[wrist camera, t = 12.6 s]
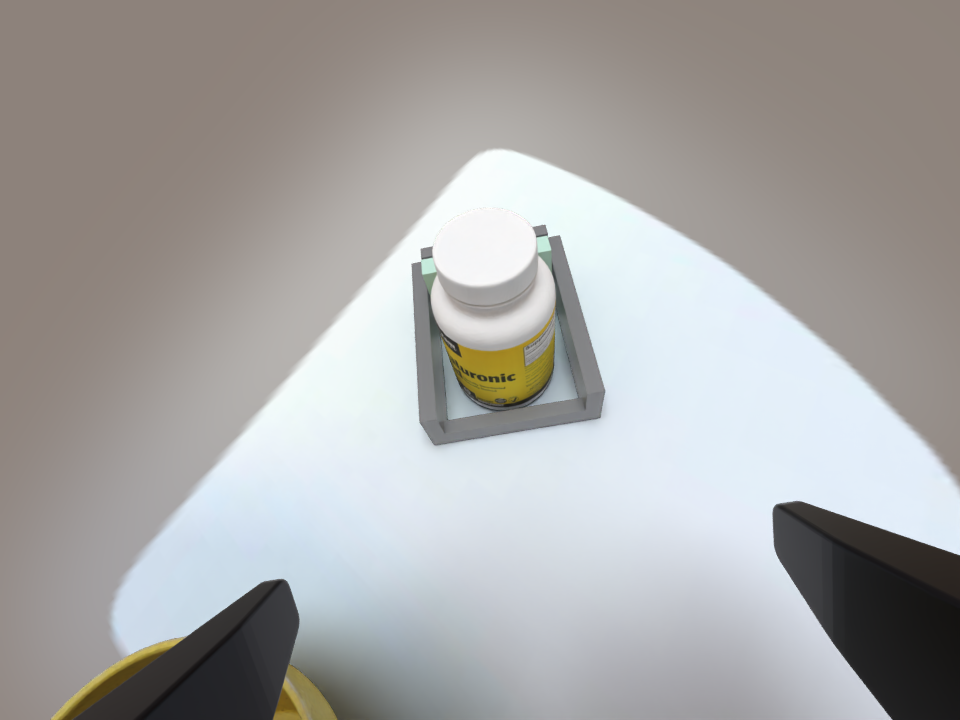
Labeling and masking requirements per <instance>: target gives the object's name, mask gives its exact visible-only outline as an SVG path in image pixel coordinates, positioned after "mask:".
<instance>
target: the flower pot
mask: <svg viewBox="0 0 960 720" xmlns="http://www.w3.org/2000/svg"><path fill="white" fill-rule="evenodd" d="M186 637H187V636H186ZM186 637H181V638H174V639H170V640H167V641H163V642H160V643H157V644H154V645H151V646H149V647H146V648H143V649H141V650H139V651H137V652H135V653H133V654H131V655H129V656H127V657H125V658H123V659H122V660H120V661H118V662H117V663H115V664H114V665H112V666H110V667H109V668H107V669H106V670H105V671H103V672H102V673H100V674H99V675H98V676H96V677H95V678H94V679H92V680H91V681H90V682H89V683H88V684H87V685H85V686H84V687H83V688H82V689H81V690H80V691H79V692H77V693H76V694H75V695H74V696H73V697H72V698H71V699H69V700H68V701H67V702H66V703H65V704H64V705H63V707H62V708H61V709H60V710H59V711H58V712H57V713H56V714H55V715H54V716H53V717H52V718H51V720H72V719H74V718H75V717H76V716H78V715H79V714H80V713H82V712H83V711H85V710H86V709H87V708H89V707H90V706H92V705H93V704H94V703H96V702H97V701H98V700H100V699H101V698H103V697H104V696H105V695H107V694H108V693H110V692H111V691H112V690H114V689H115V688H116V687H118V686H119V685H121V684H122V683H123V682H125V681H126V680H127V679H129V678H130V677H132V676H133V675H134V674H136V673H137V672H139V671H140V670H141V669H143V668H144V667H145V666H147V665H148V664H150V663H151V662H152V661H154V660H155V659H157V658H158V657H159V656H161V655H162V654H163V653H165V652H166V651H168V650H169V649H170V648H172V647H173V646H174V645H176V644H177V643H179V642H180V641H181V640H183V639H184V638H186ZM273 720H337V717H336V715H335V714H334V712H333V710H332V708H331V706H330V705H329V703H328V702H327V701H326V699H325V698H324V696H323V695H322V694H321V692H320V691H319V690H318V689H317V688H316V686H315V685H314V684H313V683H312V682H311V681H310V680H309V679H308V678H307V677H306V676H305V675H303V674H302V673H301V672H300V671H298V670H297V669H296V668H294V667H293V666H292V665H290V664H289V665H288V669H287V673H286V676H285V680H284V683H283V687H282V691H281V694H280V698H279V702H278V705H277V708H276V711H275V715H274V718H273Z"/></svg>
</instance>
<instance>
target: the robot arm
mask: <svg viewBox="0 0 960 720" xmlns="http://www.w3.org/2000/svg"><path fill="white" fill-rule="evenodd" d="M773 535H774V547H775V551H776V554H777V556H778V558H779V560H780V562H781V563H782V565H783V566H784V568H785V570H786V571H787V573H788V574H789V576H790V577H791V579H792V580H793V582H794V584H795V585H796V587H797V588H798V590H799V591H800V593H801V594H802V596H803V598H804V599H805V601H806V602H807V604H808V605H809V607H810V609H811V610H812V612H813V613H814V615H815V616H816V618H817V619H818V621H819V623H820V624H821V626H822V627H823V629H824V630H825V632H826V633H827V635H828V636H829V638H830V639H831V641H832V642H833V644H834V645H835V646H836V648H837V649H838V650H839V652H840V653H841V654H842V656H843V657H844V658H845V660H846V661H847V662H848V663H849V665H850V666H851V667H852V669H853V670H854V671H855V672H856V674H857V675H858V676H859V678H860V679H861V680H862V681H863V683H864V684H865V685H866V687H867V688H868V689H869V690H870V692H871V693H872V694H873V696H874V697H875V698H876V699H877V701H878V702H879V703H880V705H881V706H882V707H883V708H884V710H885V711H886V712H887V714H888V715H889V716H890V717H891V719H892V720H960V555H957V554H954V553H951V552H948V551H945V550H942V549H939V548H936V547H933V546H930V545H928V544H925V543H922V542H919V541H916V540H913V539H910V538H907V537H904V536H901V535H898V534H895V533H892V532H889V531H886V530H884V529H881V528H878V527H875V526H872V525H869V524H866V523H863V522H860V521H857V520H854V519H851V518H848V517H845V516H842V515H839V514H837V513H834V512H831V511H828V510H825V509H822V508H819V507H816V506H813V505H810V504H807V503H804V502H801V501H793V502H787V503H780V504H776V505H775V506H774V508H773ZM298 628H299V614H298V610H297V607H296V604H295V601H294V598H293V595H292V592H291V589H290V586H289V584H288V582H287V581H286V580H284V579H277V580H270V581H264V582H262V583H260V584H259V585H257V586H256V587H255V588H253V589H252V590H251V591H249V592H248V593H246V594H245V595H244V596H242V597H241V598H239V599H238V600H237V601H235V602H234V603H233V604H231V605H230V606H228V607H227V608H226V609H224V610H223V611H222V612H220V613H219V614H217V615H216V616H215V617H213V618H212V619H210V620H209V621H208V622H206V623H205V624H204V625H202V626H201V627H199V628H198V629H197V630H195V631H194V632H192V633H191V634H190V635H188V636H187V637H186V638H184V639H183V640H181V641H180V642H179V643H177V644H176V645H174V646H173V647H172V648H170V649H169V650H168V651H166V652H165V653H163V654H162V655H161V656H159V657H158V658H157V659H155V660H154V661H152V662H151V663H150V664H148V665H147V666H145V667H144V668H143V669H141V670H140V671H139V672H137V673H136V674H134V675H133V676H132V677H130V678H129V679H127V680H126V681H125V682H123V683H122V684H121V685H119V686H118V687H116V688H115V689H114V690H112V691H111V692H110V693H108V694H107V695H105V696H104V697H103V698H101V699H100V700H98V701H97V702H96V703H94V704H93V705H92V706H90V707H89V708H87V709H86V710H85V711H83V712H82V713H80V714H79V715H78V716H76V717H75V718H74V719H72V720H273V718H274V715H275V711H276V708H277V705H278V702H279V698H280V694H281V691H282V687H283V683H284V680H285V676H286V673H287V669H288V665H289V662H290V658H291V654H292V651H293V647H294V643H295V640H296V636H297V633H298Z"/></svg>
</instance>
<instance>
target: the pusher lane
mask: <svg viewBox="0 0 960 720" xmlns="http://www.w3.org/2000/svg"><path fill="white" fill-rule="evenodd" d="M532 228H533V230H534V232H535V234H536V238H538V237H543V236H548V233H547V229H546V225H541V226H536V227H532ZM548 240H549V243H550V247H551V256H552V276H553V279H554V283H555V293H556V305H555V307H556V311H557V315H558V319H559V322H560V326H561V330H562V334H563V338H564V342H565V346H566V350H567V354H568V358H569V362H570V366H571V369H572V373H573V377H574V381H575V385H576V389H577V393H578V397H579V398H577V399H572V400H566V401H560V402H554V403H548V404H542V405H536V406H530V407H524V408H518V409H512V410H506V411H500V412H494V413H489V414H483V415H477V416H471V417H465V418H459V419H453V420H448V419H447V407H446V395H445V384H444V372H443V360H442V348H441V337H440V331H439V329H438V326H437V324H436V321H435V318H434V314H433V310H432V306H431V297H430V294H429V292H428V289H427V286H426V284H425V281H424V278H423V276H422V265H421V262H418V263H413V264H412V281H413V301H414V321H415V341H416V361H417V381H418V401H419V421H420V424H421V425H422V427H423V428H424V430H425V431H426V433H427V434H428V436H429V438H430V439H431V441H432V442H433V444H434V445H438V444H444V443H450V442H456V441H462V440H468V439H474V438H480V437H487V436H493V435H499V434H505V433H511V432H517V431H523V430H529V429H535V428H541V427H547V426H553V425H559V424H565V423H571V422H577V421H583V420H589V419H595V418H600V416H601V411H602V405H603V400H604V395H605V389H604V385H603V382H602V378H601V375H600V371H599V368H598V365H597V361H596V358H595V354H594V351H593V347H592V344H591V341H590V337H589V334H588V330H587V327H586V323H585V320H584V317H583V313H582V310H581V306H580V303H579V299H578V296H577V293H576V289H575V286H574V282H573V279H572V275H571V272H570V269H569V265H568V262H567V258H566V255H565V251H564V248H563V245H562V241H561V238H560V235H559V236H554V237H549V238H548ZM432 249H433V247H428V248H423V249H421V258H422V260H423V259H429V258H433V255H432Z"/></svg>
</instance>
